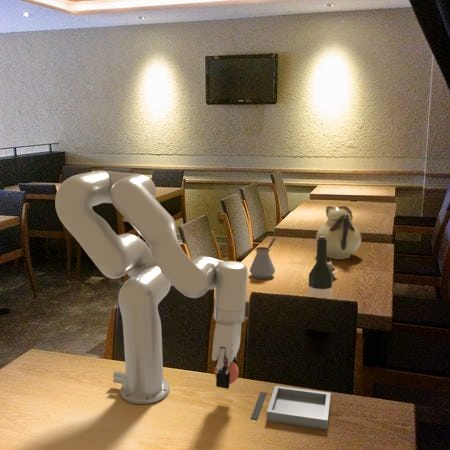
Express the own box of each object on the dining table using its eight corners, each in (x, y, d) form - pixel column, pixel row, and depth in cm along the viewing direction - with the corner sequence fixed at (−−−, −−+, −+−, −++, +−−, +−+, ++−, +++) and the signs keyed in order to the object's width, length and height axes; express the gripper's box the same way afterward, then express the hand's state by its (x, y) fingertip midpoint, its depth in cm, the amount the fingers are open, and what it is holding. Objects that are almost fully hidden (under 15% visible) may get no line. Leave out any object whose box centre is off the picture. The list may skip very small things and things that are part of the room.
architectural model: (337, 278, 223) (338, 262, 222) (330, 282, 218) (331, 265, 217) (330, 276, 225) (331, 261, 224) (323, 280, 220) (324, 264, 219)
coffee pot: (269, 281, 218) (269, 248, 215) (245, 277, 224) (245, 245, 220) (286, 268, 237) (287, 238, 234) (264, 265, 242) (264, 235, 239)
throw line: (250, 418, 118) (250, 418, 118) (260, 392, 129) (260, 391, 129) (257, 419, 118) (257, 418, 118) (266, 393, 129) (266, 392, 129)
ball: (211, 386, 122) (212, 364, 121) (217, 375, 128) (218, 353, 127) (234, 391, 121) (236, 368, 120) (240, 379, 127) (241, 357, 125)
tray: (266, 421, 117) (266, 411, 116) (275, 394, 128) (275, 385, 128) (327, 430, 113) (327, 420, 113) (330, 401, 125) (330, 392, 124)
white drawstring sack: (334, 248, 273) (335, 203, 268) (371, 257, 255) (373, 209, 250) (307, 256, 259) (308, 208, 254) (344, 266, 241) (346, 215, 236)
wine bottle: (328, 314, 181) (331, 233, 175) (334, 323, 173) (337, 239, 167) (305, 314, 181) (307, 234, 174) (310, 324, 172) (312, 239, 166)
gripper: (224, 298, 130) (221, 362, 133) (204, 324, 113) (201, 395, 117) (252, 302, 128) (248, 366, 132) (236, 329, 111) (232, 401, 115)
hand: (226, 379), depth 124 cm, fingers closed on ball, 5 cm apart
